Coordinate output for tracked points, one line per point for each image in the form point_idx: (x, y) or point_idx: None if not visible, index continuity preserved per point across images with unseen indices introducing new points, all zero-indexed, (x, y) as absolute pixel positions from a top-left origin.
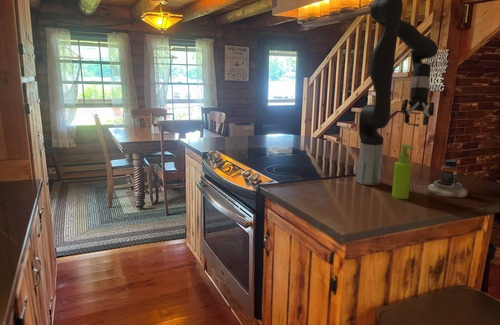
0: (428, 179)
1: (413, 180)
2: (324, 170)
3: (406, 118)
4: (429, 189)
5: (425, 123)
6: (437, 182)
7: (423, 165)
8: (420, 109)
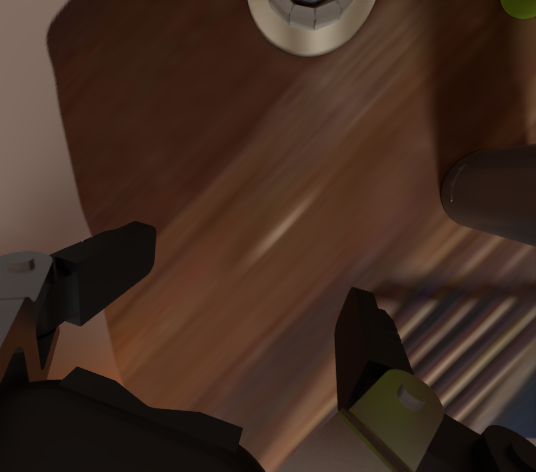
0: (236, 157)
1: (299, 162)
2: (494, 375)
3: (392, 340)
4: (373, 3)
5: (145, 231)
6: (327, 5)
7: (106, 321)
8: (95, 403)
